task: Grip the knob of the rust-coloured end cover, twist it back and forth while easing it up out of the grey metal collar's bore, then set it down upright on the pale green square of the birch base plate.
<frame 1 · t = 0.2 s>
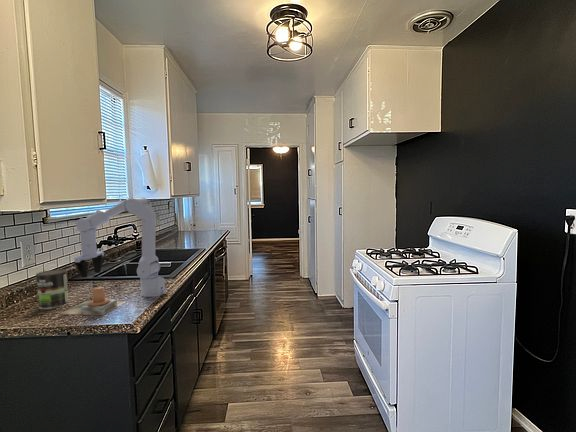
hand: (91, 274, 143), 10 cm above the countertop, tool pointing down, fingers open, 7 cm apart
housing: (94, 310, 127), on the countertop
end cover: (99, 309, 124), point 1 cm above the countertop, touching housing
coffee can: (54, 305, 134), on the countertop
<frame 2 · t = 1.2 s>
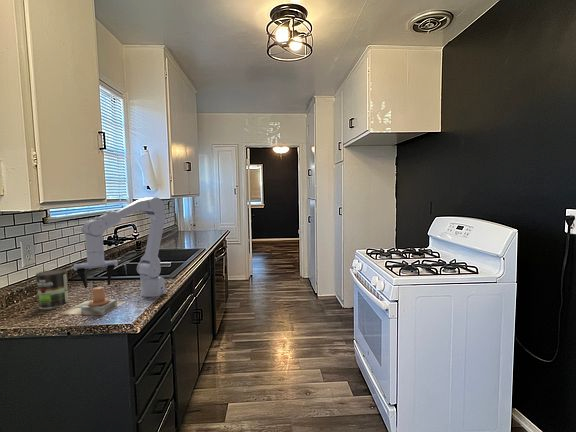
hand: (97, 285, 124), 10 cm above the countertop, tool pointing down, fingers open, 7 cm apart
nothing on the countertop moved.
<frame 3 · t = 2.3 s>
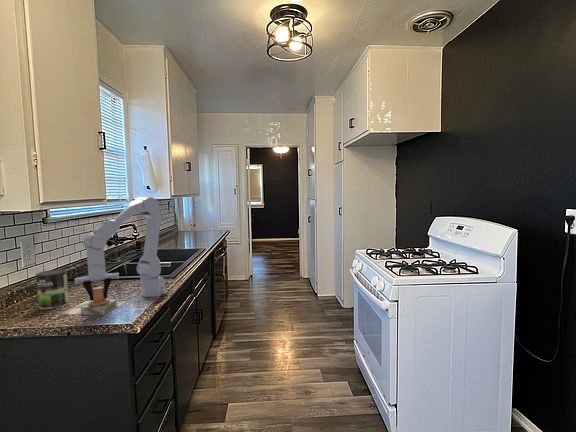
hand: (99, 298, 124), 5 cm above the countertop, tool pointing down, fingers closed on end cover, 4 cm apart
end cover: (99, 309, 124), point 1 cm above the countertop, touching gripper, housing
everything else where it was.
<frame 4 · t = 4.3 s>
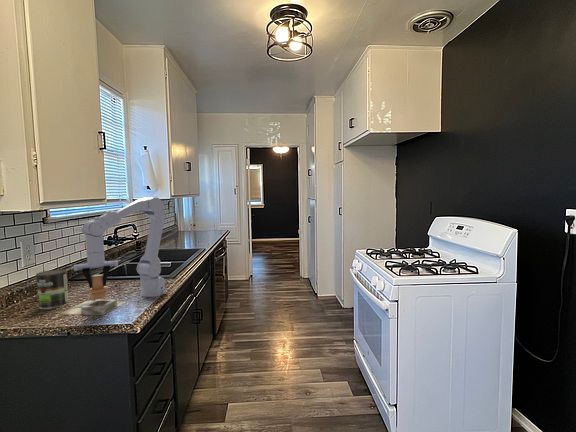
hand: (98, 286, 123), 10 cm above the countertop, tool pointing down, fingers closed on end cover, 4 cm apart
end cover: (98, 297, 124), point 6 cm above the countertop, touching gripper
everything else where it was.
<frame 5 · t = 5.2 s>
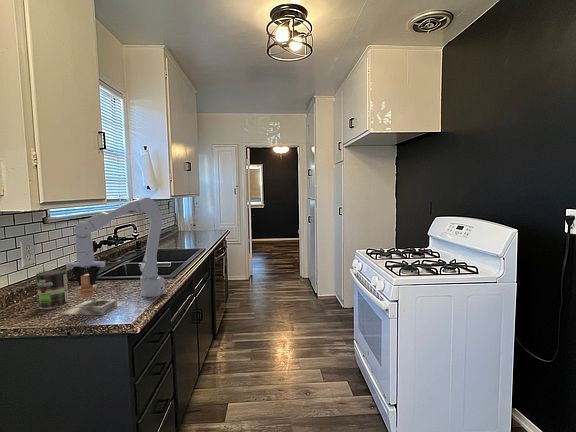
hand: (87, 284, 129), 9 cm above the countertop, tool pointing down, fingers closed on end cover, 4 cm apart
end cover: (87, 295, 130), point 5 cm above the countertop, touching gripper
everything else where it was.
when the fingers open (7 cm above the countertop, at t = 6.0 s): end cover stays where it is, resting on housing.
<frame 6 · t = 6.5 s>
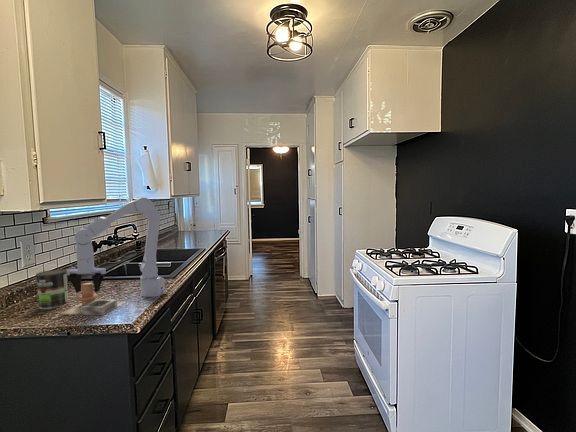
hand: (88, 291, 130), 7 cm above the countertop, tool pointing down, fingers open, 7 cm apart
end cover: (88, 304, 130), point 1 cm above the countertop, touching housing
everything else where it was.
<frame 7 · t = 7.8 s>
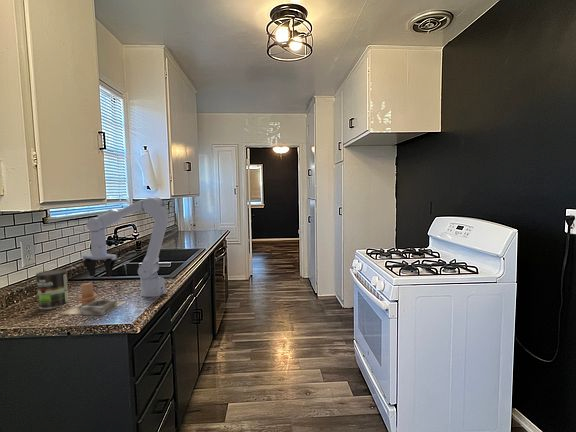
hand: (100, 275, 139), 10 cm above the countertop, tool pointing down, fingers open, 7 cm apart
nothing on the countertop moved.
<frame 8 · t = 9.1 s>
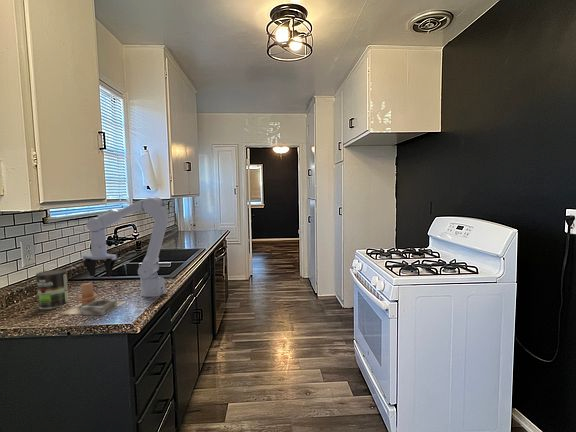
hand: (100, 275, 139), 10 cm above the countertop, tool pointing down, fingers open, 7 cm apart
nothing on the countertop moved.
at the end: end cover 0.2 cm from the target spot on the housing, point 1.4 cm above the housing's base; end cover tilted 0°; the gripper is holding nothing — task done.
